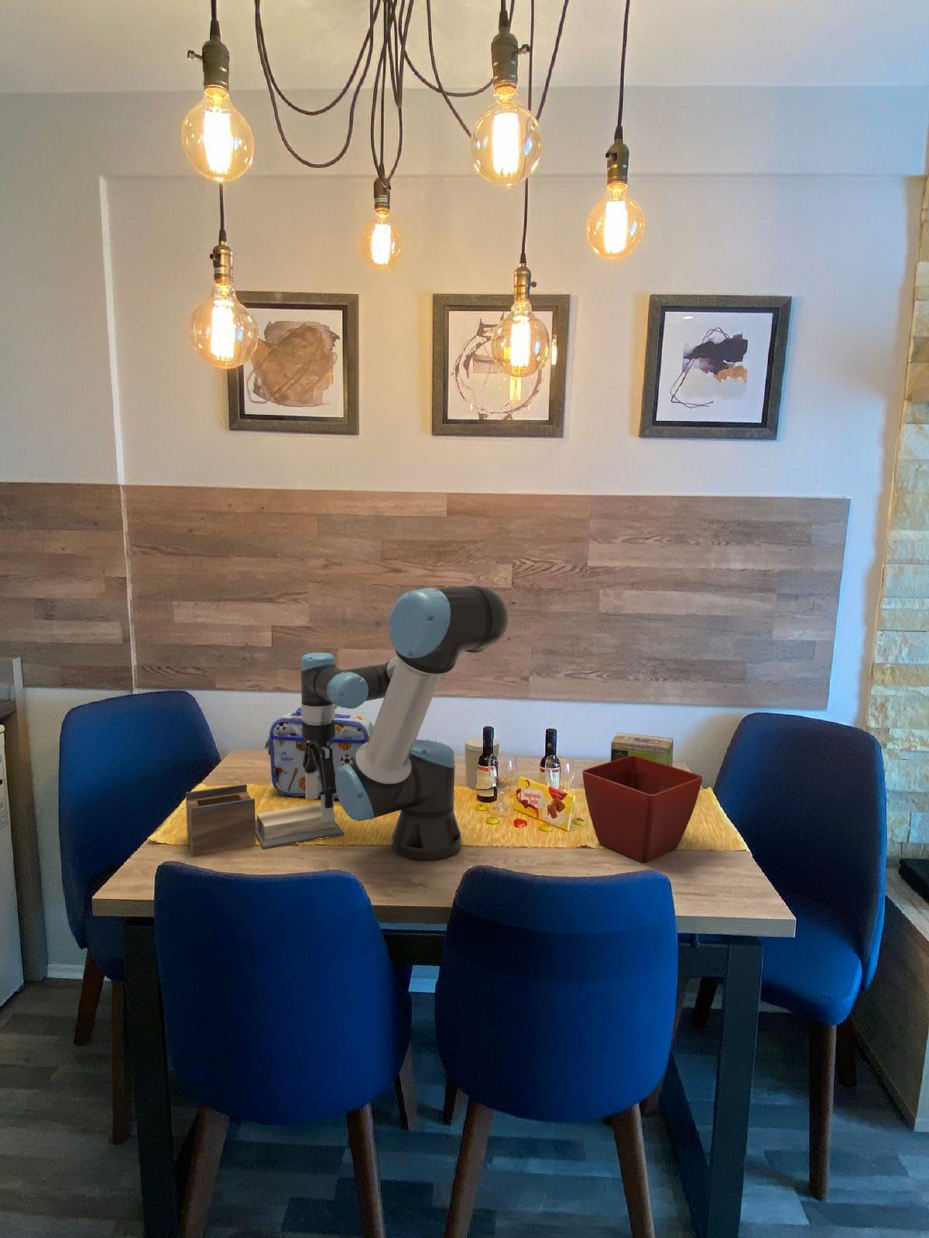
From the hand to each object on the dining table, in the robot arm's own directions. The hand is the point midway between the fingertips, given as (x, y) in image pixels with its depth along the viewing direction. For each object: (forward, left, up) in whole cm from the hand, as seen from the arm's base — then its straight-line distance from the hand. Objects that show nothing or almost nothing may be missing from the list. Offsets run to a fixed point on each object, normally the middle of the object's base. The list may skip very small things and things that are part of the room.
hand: (319, 809), depth 175 cm
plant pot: (-39, -62, -4) cm, 73 cm away
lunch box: (+19, -6, -4) cm, 20 cm away
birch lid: (0, +6, -3) cm, 6 cm away
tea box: (-14, -82, -4) cm, 84 cm away
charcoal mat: (0, +6, -4) cm, 7 cm away
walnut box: (0, +22, -4) cm, 22 cm away
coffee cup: (+8, -46, -4) cm, 47 cm away
